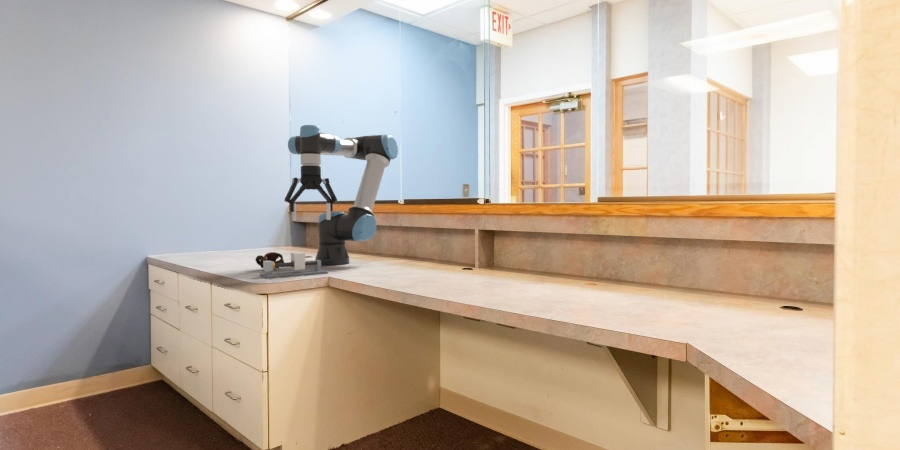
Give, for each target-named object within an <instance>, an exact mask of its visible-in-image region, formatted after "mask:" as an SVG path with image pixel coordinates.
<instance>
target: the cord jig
mask: <svg viewBox="0 0 900 450" xmlns="http://www.w3.org/2000/svg"><path fill="white" fill-rule="evenodd" d="M313 265H314V268H313V269H312V268H310V269H302V270H287V271H274V270H276V269H278V268H277V267H279V268H288V267H289V268H291V266H294V262H291V261H290V262H284V263H274V262H273V261H263V268H262V269H263V273H259V276H260V277H263V278H264V277H265V279H267V278H270V279H278V278H277V277H281V278H289V276H293V277H302V276H301V275H304V276H314V275H315V274H316V275H326V274H328V273H329V271H328V270H324V269H322V265H321V260H315V259H314V260H305V266H313ZM273 271H274V272H273Z"/></svg>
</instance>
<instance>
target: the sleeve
mask: <svg viewBox="0 0 900 450" xmlns="http://www.w3.org/2000/svg"><path fill="white" fill-rule="evenodd" d="M305 261H306V252H302V251H296V252H295V251H294V252H293V251H292V252H290V262H294V266H291V267H290V269H291V270H292V271H297V270H306V265H305Z"/></svg>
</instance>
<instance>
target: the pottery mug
mask: <svg viewBox="0 0 900 450" xmlns="http://www.w3.org/2000/svg"><path fill="white" fill-rule="evenodd" d="M279 258H280V259H279ZM263 261H273V262H274V263H285V261H284V256H283V255H282V254H281V253H279V252H275V251H273V252H271V251H270V252H267V253H265V254H264V255H259V254H258V255H257V256H256V257H255V262H256V264H257V265H258V266H259V267H260V268H261V269H263ZM276 269H280V267H277V268H276Z"/></svg>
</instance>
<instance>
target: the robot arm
mask: <svg viewBox="0 0 900 450" xmlns="http://www.w3.org/2000/svg"><path fill="white" fill-rule="evenodd" d="M287 148H288V151H289V152H290V153H291V154H293V155H300V165H301V166H300V178H299V177H293V178H292V181H291V185H290V187H289V189H288V190H287V194H286V196H285V198H284V202H285V203H288V204H289V212H290V213H291V214H292V215H291V218H292V221H296V222H297V221H298V220H297V203H296V201H297V199H298V198H299V197H300V196H301V195H302V193H304V191H305V190H308V191H309V190H313V191H315V190H316V191H318V193H319V194H321V196H322V197H323V198H324V199H325V200H326V202H327V203H325V212H324V213H321V214H319V216H318V223H317V226H318V249H317V253H316V255H315V259H314V261H315V260H321V266H334V265H335V266H336V265H337V266H338V265H339V266H340V265H346V264H349V263H350V256H349V253H348V251H347V250H348V249H347V247H346V241H348V242H349V241H351V242H366V241H369V240H371V239H372V238H373V237H374V235H375V234H376V230H377V220H376V217H375V214H374V212H373V209H374V206H375V202H376V199H377V195H378V191H379V189H380V186H381V183H382V178H383V176H384V171H385V168H388V167H389V166H390V162H391V160H394V159H396V158H397V157H398V155H399V154H398V153H399V146H398V143H397V141H396V139H395V138H394V136H393V135H391V134H386V133H385V134H384V133H383V134H374V135H363V136H357V137H356V136H355V137H345V138H344V139H343V138H342V139H341V138H340V137H339V136H337V135H335V134H332V133H325V132H324V133H323V132H321V128H320V126H319V125H315V124H303V125H302V126H300V129H299V135H295V136H292V137H290V138H289V139H288V140H287ZM321 155H322V156H343V157H344V158H347V159H353V160H361V161H366V164H365V168H364V172H363V174H362V177H361V181H360V182H359V183H360V184H359V187H358V191H357V193H356V196H355V200H354V203H353V205H352V206H350V207H348V211H347V213H345V211H343V210H342V211H333V204H334V203H335V202H337V201H338V199H337V196H336V194H335V192H334V190H333V188H332V186H331V184H330V179H329V178H328V177H327V178H322V177H321V176H322V169H321V166H320V165H321V164H322V160H321V159H322V158H321ZM299 183H300V184H301V186H300V187H299V188H298V190H297V191H296V192H295V189H296V187H297V186H298V184H299ZM322 183H323V185H324V187H325V189H326V190H327V192H326V191H325V190H324V188H323V187H322V186H321V184H322ZM294 192H295V193H294ZM293 194H294V195H293Z"/></svg>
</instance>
